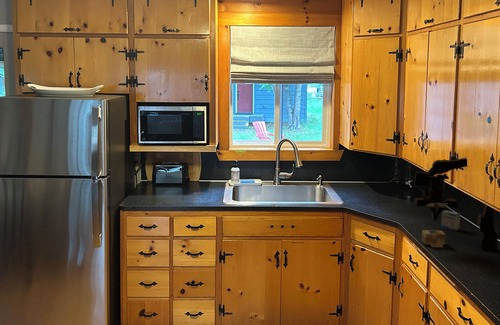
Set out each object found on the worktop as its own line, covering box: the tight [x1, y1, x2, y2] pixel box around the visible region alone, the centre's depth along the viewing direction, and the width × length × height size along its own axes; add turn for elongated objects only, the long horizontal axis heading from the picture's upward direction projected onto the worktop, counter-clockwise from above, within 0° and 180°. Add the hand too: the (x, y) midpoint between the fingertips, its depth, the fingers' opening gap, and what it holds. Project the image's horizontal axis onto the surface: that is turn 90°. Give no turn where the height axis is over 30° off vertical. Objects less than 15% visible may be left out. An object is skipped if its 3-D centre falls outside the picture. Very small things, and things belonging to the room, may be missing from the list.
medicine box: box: [440, 210, 461, 232], centre depth 289 cm, size 8×4×9 cm, turn 45°
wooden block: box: [421, 229, 446, 246], centre depth 263 cm, size 5×6×9 cm
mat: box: [429, 244, 444, 248], centre depth 264 cm, size 5×10×1 cm, turn 177°
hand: (434, 220), depth 262 cm, fingers closed
